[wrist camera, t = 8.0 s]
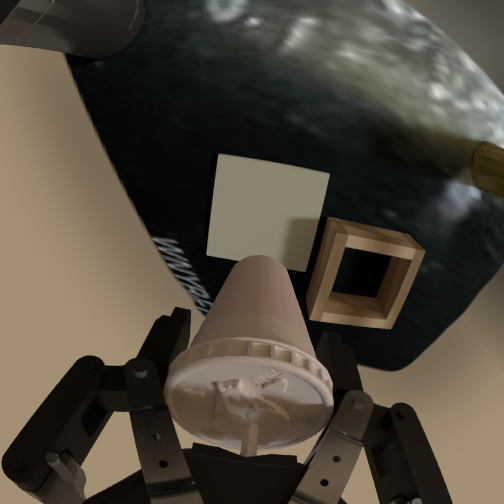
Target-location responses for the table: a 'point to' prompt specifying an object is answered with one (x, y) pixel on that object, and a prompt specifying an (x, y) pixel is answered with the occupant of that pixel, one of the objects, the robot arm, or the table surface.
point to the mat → (265, 210)
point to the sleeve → (353, 306)
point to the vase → (489, 168)
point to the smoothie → (251, 367)
